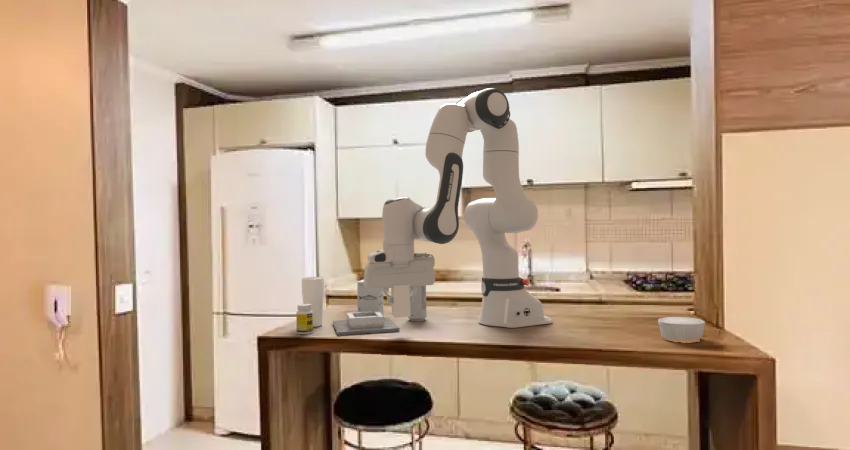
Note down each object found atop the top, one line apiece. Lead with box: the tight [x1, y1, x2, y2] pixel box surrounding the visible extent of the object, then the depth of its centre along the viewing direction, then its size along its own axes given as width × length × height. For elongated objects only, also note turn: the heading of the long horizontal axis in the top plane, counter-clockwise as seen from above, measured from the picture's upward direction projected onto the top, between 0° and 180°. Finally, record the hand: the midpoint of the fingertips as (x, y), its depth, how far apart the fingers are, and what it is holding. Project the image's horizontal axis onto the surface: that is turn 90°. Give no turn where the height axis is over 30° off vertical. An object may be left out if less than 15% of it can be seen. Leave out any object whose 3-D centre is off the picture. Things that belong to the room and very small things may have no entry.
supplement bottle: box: [295, 303, 314, 335], centre depth 166 cm, size 5×5×8 cm
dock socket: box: [332, 311, 401, 336], centre depth 172 cm, size 18×18×4 cm
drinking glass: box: [301, 276, 325, 328], centre depth 176 cm, size 7×7×15 cm
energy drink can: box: [407, 285, 427, 322], centre depth 183 cm, size 6×6×15 cm
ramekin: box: [657, 316, 706, 340], centre depth 149 cm, size 11×11×5 cm
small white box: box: [390, 284, 410, 319], centre depth 160 cm, size 4×4×9 cm
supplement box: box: [356, 279, 384, 316], centre depth 188 cm, size 7×7×13 cm
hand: (400, 302), depth 161 cm, fingers closed on small white box, 4 cm apart
